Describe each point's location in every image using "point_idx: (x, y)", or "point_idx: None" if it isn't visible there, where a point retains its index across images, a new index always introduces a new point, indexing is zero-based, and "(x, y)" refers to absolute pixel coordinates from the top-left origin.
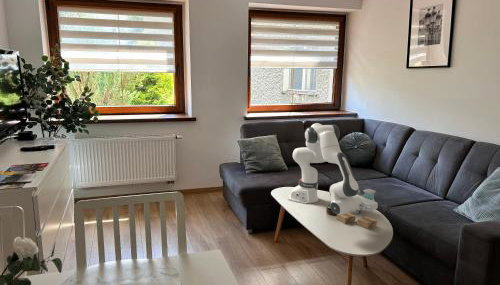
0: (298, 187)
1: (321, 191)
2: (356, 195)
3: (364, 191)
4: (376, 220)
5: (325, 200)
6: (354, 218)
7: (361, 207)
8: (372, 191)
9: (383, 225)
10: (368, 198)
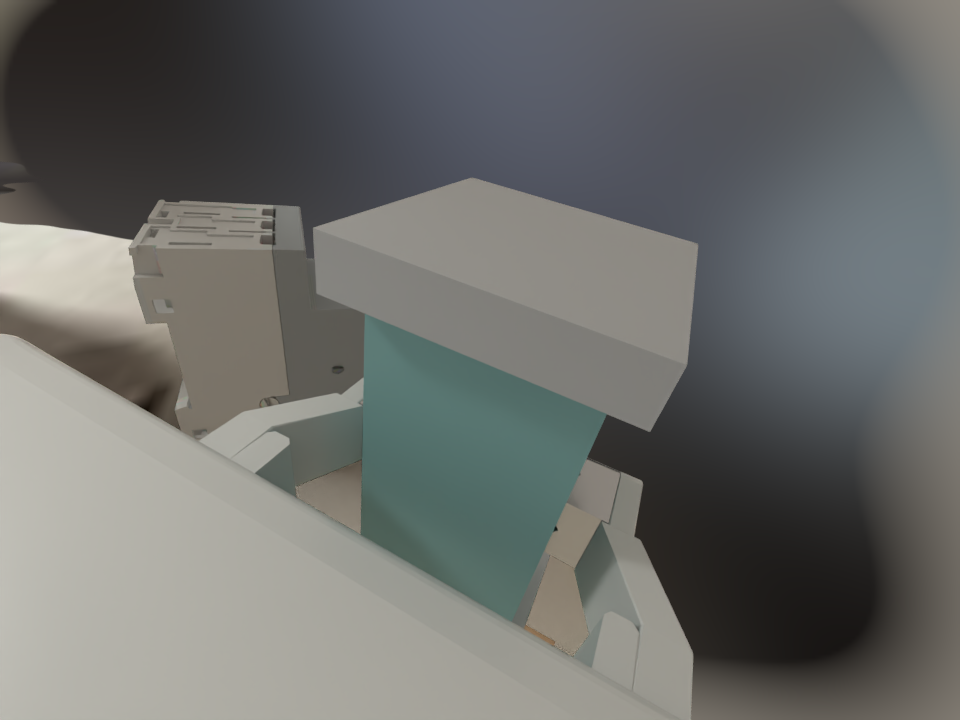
0: None
1: (79, 234)
2: (35, 492)
3: (363, 296)
4: (549, 639)
5: (50, 314)
6: None
7: (339, 391)
8: (669, 277)
9: (578, 591)
10: (514, 518)
